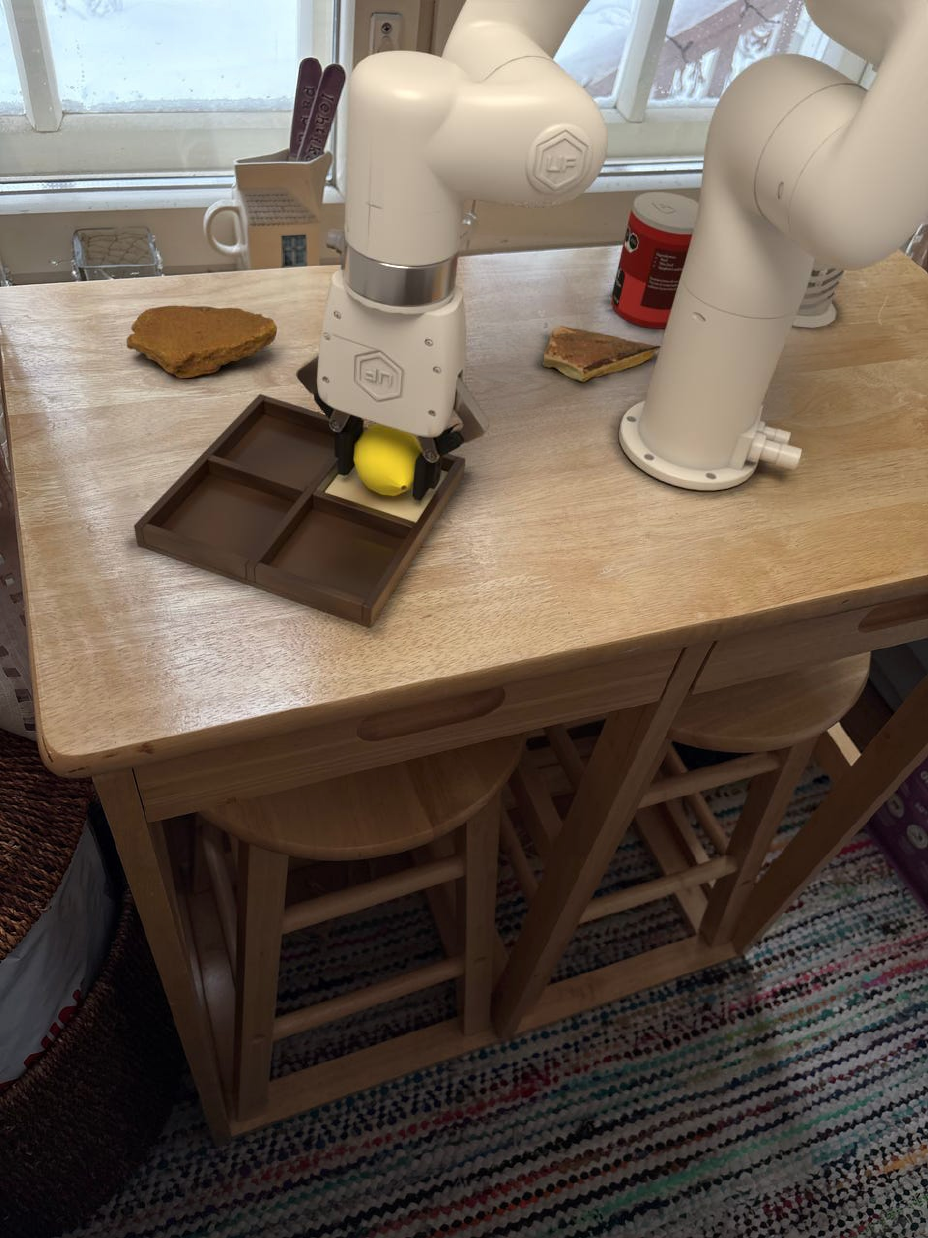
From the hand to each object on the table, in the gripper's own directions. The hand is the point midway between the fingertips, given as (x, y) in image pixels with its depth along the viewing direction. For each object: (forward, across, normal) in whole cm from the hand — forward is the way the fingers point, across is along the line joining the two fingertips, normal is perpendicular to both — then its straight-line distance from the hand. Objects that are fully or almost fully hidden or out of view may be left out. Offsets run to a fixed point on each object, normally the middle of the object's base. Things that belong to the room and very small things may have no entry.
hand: (386, 476), depth 78 cm
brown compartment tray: (+2, -4, -4) cm, 7 cm away
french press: (+2, +28, +52) cm, 58 cm away
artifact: (+2, -24, +10) cm, 26 cm away
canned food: (+2, +12, +40) cm, 42 cm away
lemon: (+1, 0, 0) cm, 1 cm away
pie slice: (+2, +9, +29) cm, 30 cm away
